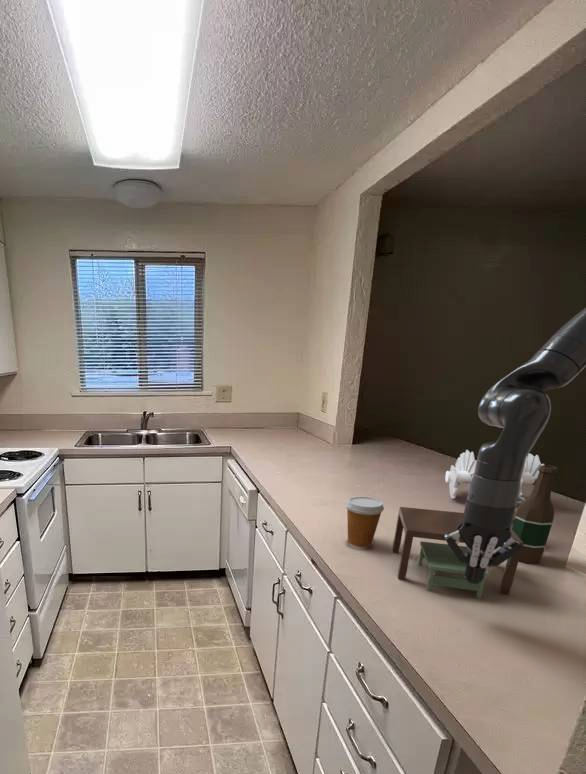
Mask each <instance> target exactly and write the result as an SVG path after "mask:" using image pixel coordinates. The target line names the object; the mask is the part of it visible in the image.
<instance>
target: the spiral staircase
mask: <svg viewBox="0 0 586 774" xmlns="http://www.w3.org/2000/svg"><path fill="white" fill-rule="evenodd" d="M476 462H477V459H475V454H474V451H471V452H470V451H469V449H465V452H462V453H460V454H459V457H457V459H456V462H455V465H454V464H451V466H450V470H446V471H445V474H444V475H445V476H444V481H445V483H449V485H448V486H449V487H448V488H449V495H450V496H449V497H450V498H451V500H454V499H456V496H457V492H458V487H459V486H460V484H467V485H468V488H469V487H470V483H471V481H472V478H473V475H474V471H475V466H476ZM542 465H545V463H541V460H540V456H539V455H538V454H535V456H534V455H533V454H532V453H530V452H529V453H528V455H527V457H526V461H525V465H524V469H523V473H522V477H521V483H520V492H519V497H523V490H522V488H523V485H529V486H531V485H535V482H536V480H537V477H538V474H539V471H538V469H539V468H540V466H542Z"/></svg>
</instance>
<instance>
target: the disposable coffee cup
mask: <svg viewBox="0 0 586 774" xmlns="http://www.w3.org/2000/svg"><path fill="white" fill-rule="evenodd" d="M345 506H346V510H347V542H348V543H349V544H350V545H352V546H356V547H362V548H364V547H365V548H366V547H370V546H372V544H373V541H374V537H375V535H376V531H377V528H378V526H379V525H378V524H379V521H380V518H381V514H382V513H383V511H384V510H385V507H384V505H383V502H382V501H381V500H380V499H377V498H374V497H370V496H353V497H350V498H348V500H347V502H346V503H345Z"/></svg>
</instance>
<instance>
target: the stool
mask: <svg viewBox="0 0 586 774" xmlns="http://www.w3.org/2000/svg"><path fill="white" fill-rule="evenodd" d="M419 545H420V551H419V555H418V556H419V557H418V561H417V565H418V566H423V562H424V559H425V561H426V564H427V566H428V569H429V573H428V578H427V584H426V589H425V590H426V591H429V592H430V591H432V587H433V585H434V586H441V587H446V588H447V587H448V588H456V589H462V590H468V591H476V592H475V597H476V598H478V599H481V598H482V595H483V592H484V591H483V590H484V586H485V584H486V579H487V578H488V577H489V572H488V570H487V568H486V569H485V573H484V577H483V580H482V581H481V582H479V583H478V584H472V583H469V582H468V580H466V578H465V577H458V576H451V575H444V574H443V575H442V574H436V571H441V572H446V573H447V572H448V573H456V574H463V575H464V574H465V569H466V565H467V563H462V562H460V560H459V559H458V557H457V556H456V555H455V553H454V552H453V550H452V549H451V547H450V546H449V545H448V543H447V544H446V543H438V542H432V541H431V542H429V541H419ZM458 546H459V547H460V549H461V550H462V552H463V553H464V554H466V555H467V552H468V550H467V545H458Z"/></svg>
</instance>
